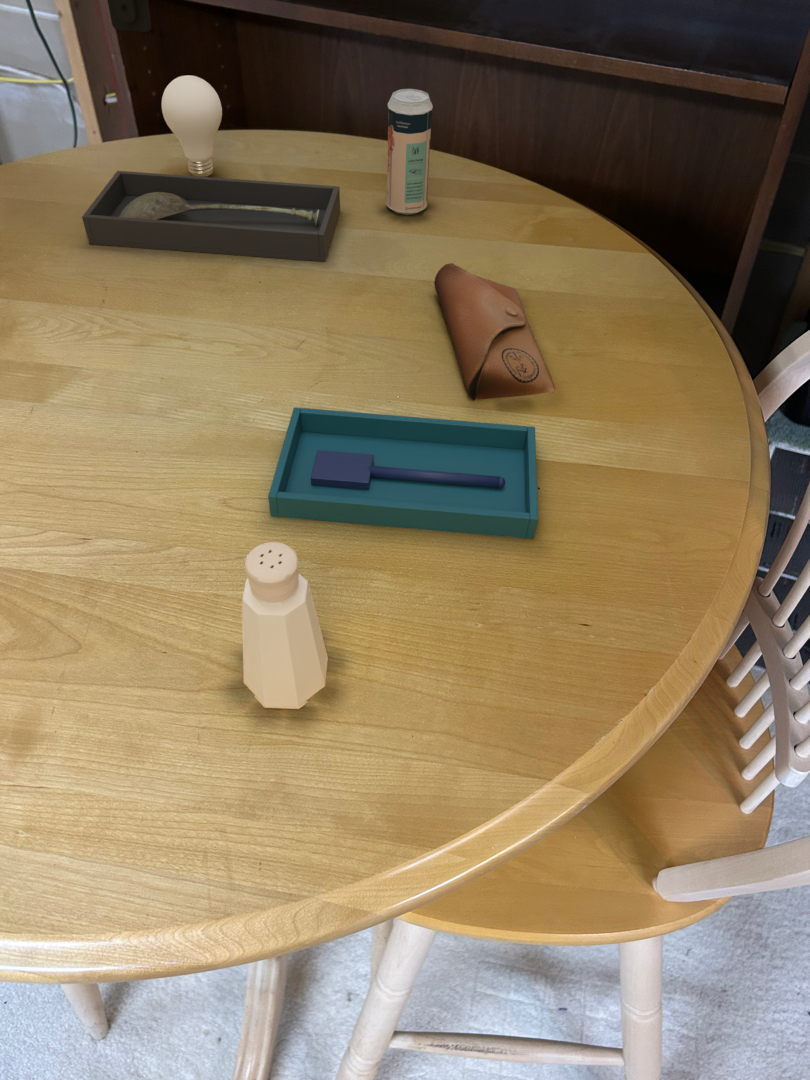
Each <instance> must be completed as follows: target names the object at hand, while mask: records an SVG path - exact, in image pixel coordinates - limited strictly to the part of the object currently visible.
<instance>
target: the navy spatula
mask: <svg viewBox="0 0 810 1080" xmlns="http://www.w3.org/2000/svg"><path fill="white" fill-rule="evenodd" d="M373 457H374V456H373V455H371V454H358V453H346V452H334V451H322V450H317V454H316V458H315V462H314V466H313V470H312V474H311V485H313V486H325V487H337V488H349V489H361V490H369V486H370V480H371V478H381V479H393V480H405V481H417V482H429V483H441V484H453V485H465V486H476V487H488V488H502V487H504V485H505V479H504V478H503V477H499V476H487V475H475V474H463V473H451V472H439V471H427V470H415V469H403V468H391V467H379V466H373Z"/></svg>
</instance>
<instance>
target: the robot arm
mask: <svg viewBox="0 0 810 1080" xmlns="http://www.w3.org/2000/svg"><path fill="white" fill-rule="evenodd" d="M107 5H108V10H109V15H110V22H111V25H112V27H113V29H115V30H117V31H128V32H129V31H130V32H141V33H147V32H149V31H151V29H152V22H151V21H152V20H151V14H150V7H149V2H148V0H107Z"/></svg>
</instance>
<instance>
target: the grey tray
mask: <svg viewBox="0 0 810 1080" xmlns="http://www.w3.org/2000/svg"><path fill="white" fill-rule="evenodd" d="M152 192H166V193H171V194H174V195H177V196H179V197H181V198H183V199H184V200H185V201H186V202H187V203H188V204H189V205H198V204H226V205H245V206H262V207H273V208H283V209H290V210H292V209H293V208H295V210H297V211H298V210H305V211H308V212H309V211H313V213H314V214H315V213H316V212H317V210H318V209H319V210H320V211H319V220H318V224H317V226H315V222H314V221H313V220H312V221H311V222H310V221H308V219H301V218H299V217H298V216H296V215H295V216H294V217H292V215H290V214H284V213H271V212H257V211H237V210H199V211H186V212H182V213H178V214H174V215H171V216H167V217H164V218H160V219H157V220H154V219H141V218H127V217H119V215H120V214H121V212H122V211H123V209H124V208H125V207H126V206H127V205H128V204H129V203H130V202H132V201H133V200H134V199H136V198H138V197H140V196H142V195H144V194H147V193H152ZM340 193H341V192H340V186H337V185H335V186H334V185H326V184H325V185H323V184H322V185H321V184H311V183H309V184H308V183H296V182H282V181H268V180H267V181H265V180H255V179H254V180H252V179H240V178H239V179H238V178H226V177H225V178H224V177H212V176H207V177H199V176H194V175H183V174H169V173H168V174H167V173H156V172H155V173H154V172H142V171H141V172H140V171H127V170H117V171H116V172H115V173H114V174H113V175H112V177H111V178H110V179H109V181H108V182H107V184H106V185H105V186H104V188H103V189H101V191H100V193H99V194H98V195H97V196H96V198H95V199H94V201H93V202H92V203H91V204H90V205H89V207H88V208H87V209H86V211H85V212H84V214H83V215H82V216H81V219H82V222H83V226H84V230H85V233H86V237H87V241H88V245H99V246H109V247H122V248H123V247H124V248H125V247H126V248H138V249H151V250H152V249H153V250H164V251H175V252H191V253H205V254H217V255H219V254H220V255H231V256H243V257H244V256H245V257H256V258H257V257H260V258H269V259H271V258H272V259H285V260H297V261H298V260H300V261H312V262H326V259H327V257H328V255H329V251H330V247H331V244H332V241H333V237H334V234H335V231H336V227H337V225H338V224H337V223H338V220H339V217H340V214H341V194H340Z"/></svg>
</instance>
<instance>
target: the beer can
mask: <svg viewBox="0 0 810 1080" xmlns="http://www.w3.org/2000/svg"><path fill="white" fill-rule="evenodd" d="M433 107H434V106H433V103H432V100H431V98H430V96H429V93H428V92H426V91H423V90H421V89H417V88H416V89H415V88H402V89H397V90H396V91H393V92H392V94H391V96H390V98H389V100H388V102H387V108H388V115H387V117H388V118H387V119H388V120H387V170H386V171H387V172H386V173H387V175H386V177H387V178H386V181H387V182H386V184H387V185H386V200H385V204H386V207H387V208H389V209H390V210H392V211H393V212H394V213H397V214H399V215H404V216H405V215H406V216H410V215H415V214H418V213H420V212H422V211H424V210H425V209H426V208H427V207H428V190H429V172H430V153H431V134H432V118H433V117H432V115H433Z"/></svg>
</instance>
